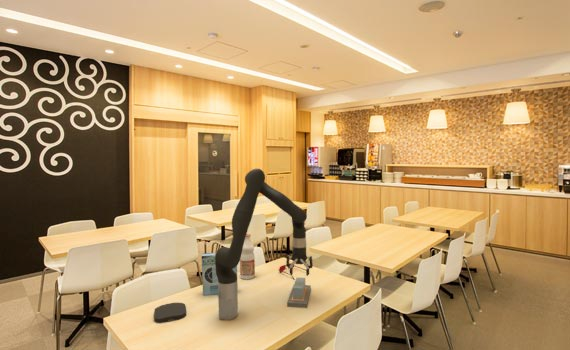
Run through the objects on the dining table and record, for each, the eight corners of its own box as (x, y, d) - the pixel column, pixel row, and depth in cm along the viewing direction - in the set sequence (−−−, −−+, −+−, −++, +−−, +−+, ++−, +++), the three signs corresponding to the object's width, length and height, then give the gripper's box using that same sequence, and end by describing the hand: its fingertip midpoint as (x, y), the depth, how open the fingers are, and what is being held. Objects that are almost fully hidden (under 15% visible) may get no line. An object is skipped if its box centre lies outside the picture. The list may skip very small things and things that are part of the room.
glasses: (293, 268, 221) (293, 261, 221) (310, 275, 209) (310, 267, 209) (277, 273, 213) (277, 266, 212) (294, 280, 200) (294, 272, 200)
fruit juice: (237, 276, 207) (236, 234, 206) (250, 273, 212) (249, 232, 211) (244, 281, 199) (243, 236, 198) (257, 277, 204) (256, 234, 203)
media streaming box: (154, 311, 162) (154, 305, 161) (184, 305, 167) (184, 300, 167) (154, 325, 148) (154, 318, 148) (187, 318, 153) (186, 312, 153)
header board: (306, 307, 162) (306, 297, 162) (287, 306, 164) (287, 295, 164) (310, 288, 186) (310, 279, 186) (293, 287, 188) (293, 278, 187)
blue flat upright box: (237, 289, 186) (236, 251, 185) (237, 293, 181) (236, 253, 180) (203, 292, 183) (202, 252, 182) (202, 295, 178) (201, 255, 177)
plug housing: (302, 299, 167) (302, 288, 167) (293, 298, 168) (292, 287, 168) (306, 283, 188) (306, 274, 187) (298, 283, 188) (297, 273, 188)
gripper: (285, 246, 171) (285, 276, 171) (311, 247, 168) (311, 278, 169) (287, 243, 178) (287, 271, 179) (313, 244, 176) (313, 273, 176)
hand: (299, 274), depth 174 cm, fingers open, 8 cm apart
